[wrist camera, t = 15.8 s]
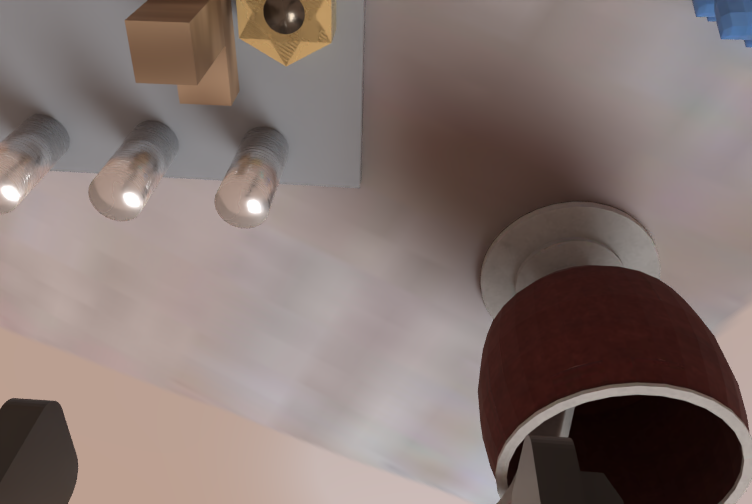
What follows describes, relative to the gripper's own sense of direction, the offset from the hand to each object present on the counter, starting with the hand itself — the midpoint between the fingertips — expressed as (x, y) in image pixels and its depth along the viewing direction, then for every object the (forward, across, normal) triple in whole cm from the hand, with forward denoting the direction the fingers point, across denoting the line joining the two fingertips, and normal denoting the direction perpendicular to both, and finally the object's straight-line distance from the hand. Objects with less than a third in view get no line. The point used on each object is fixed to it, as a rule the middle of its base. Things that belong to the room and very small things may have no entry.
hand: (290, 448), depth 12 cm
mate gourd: (+33, -13, +20) cm, 41 cm away
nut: (+32, +5, +1) cm, 32 cm away
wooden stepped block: (+32, +10, +2) cm, 34 cm away
